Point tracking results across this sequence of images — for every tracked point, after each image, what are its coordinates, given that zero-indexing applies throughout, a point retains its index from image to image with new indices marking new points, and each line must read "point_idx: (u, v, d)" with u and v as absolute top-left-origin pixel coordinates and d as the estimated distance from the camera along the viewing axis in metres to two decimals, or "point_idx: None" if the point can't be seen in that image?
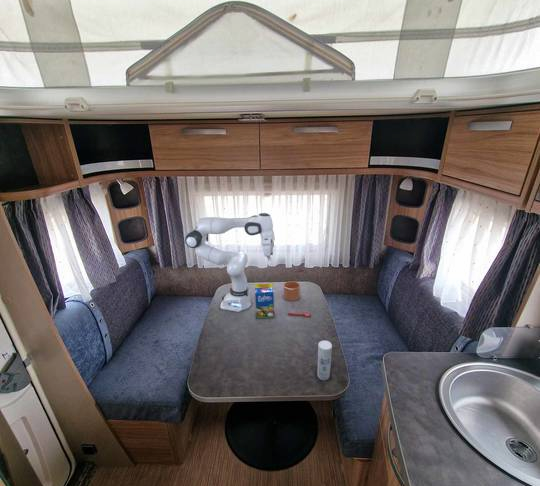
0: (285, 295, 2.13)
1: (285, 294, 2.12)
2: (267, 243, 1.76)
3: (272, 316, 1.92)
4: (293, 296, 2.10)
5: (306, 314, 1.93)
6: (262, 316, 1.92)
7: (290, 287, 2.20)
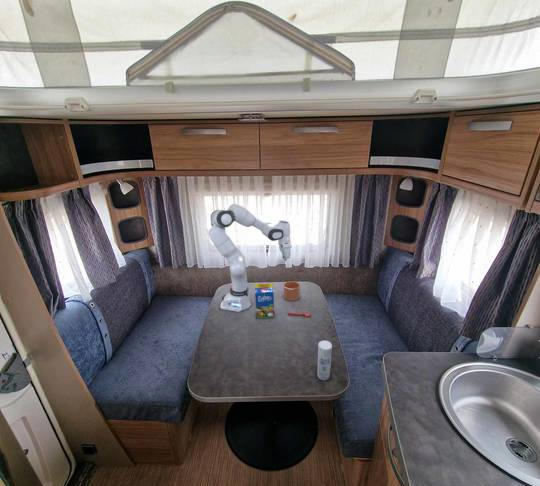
0: (285, 295, 2.13)
1: (285, 294, 2.12)
2: (288, 247, 2.02)
3: (272, 316, 1.92)
4: (293, 296, 2.10)
5: (306, 314, 1.93)
6: (262, 316, 1.92)
7: (290, 287, 2.20)
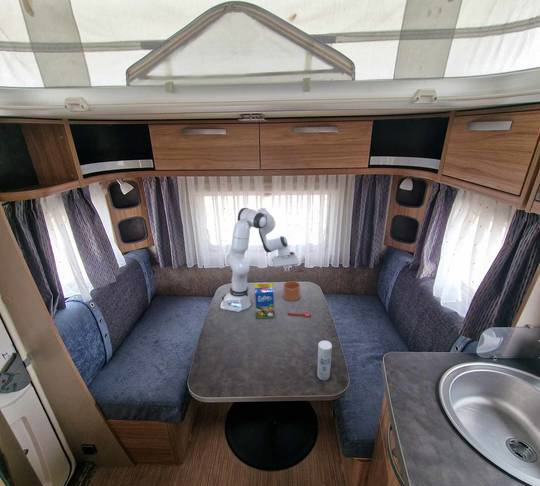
0: (285, 295, 2.13)
1: (285, 294, 2.12)
2: None
3: (272, 316, 1.92)
4: (293, 296, 2.10)
5: (306, 314, 1.93)
6: (262, 316, 1.92)
7: (290, 287, 2.20)
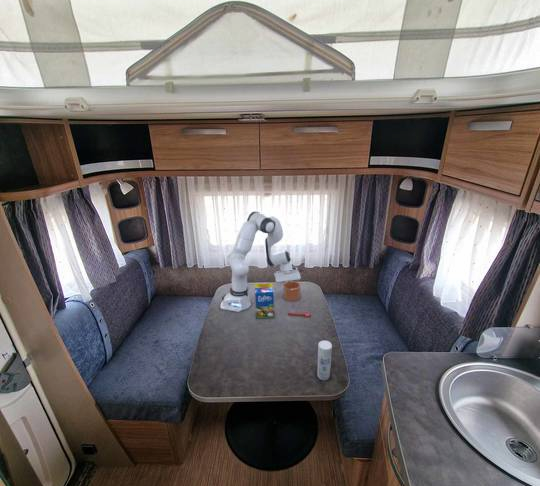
0: (285, 295, 2.13)
1: (285, 294, 2.12)
2: None
3: (272, 316, 1.92)
4: (293, 296, 2.10)
5: (306, 314, 1.93)
6: (262, 316, 1.92)
7: (290, 287, 2.20)
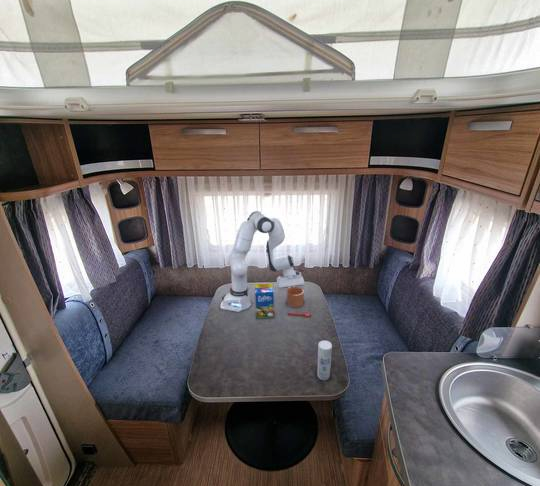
0: (288, 301, 2.05)
1: (288, 300, 2.04)
2: None
3: (272, 316, 1.92)
4: (296, 303, 2.02)
5: (306, 314, 1.93)
6: (262, 316, 1.92)
7: (294, 293, 2.12)
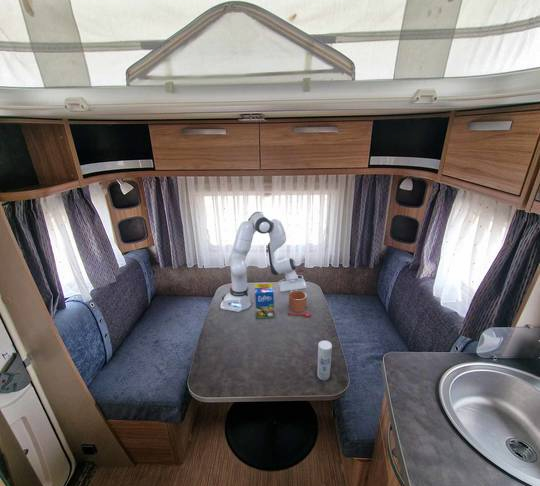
0: (290, 306, 1.99)
1: (290, 305, 1.99)
2: None
3: (272, 316, 1.92)
4: (299, 307, 1.97)
5: (306, 314, 1.93)
6: (262, 316, 1.92)
7: (296, 297, 2.07)
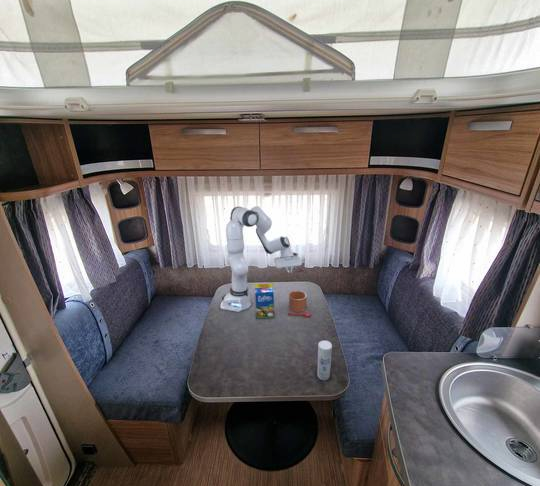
0: (290, 306, 1.99)
1: (290, 305, 1.99)
2: None
3: (272, 316, 1.92)
4: (299, 307, 1.97)
5: (306, 314, 1.93)
6: (262, 316, 1.92)
7: (296, 297, 2.07)
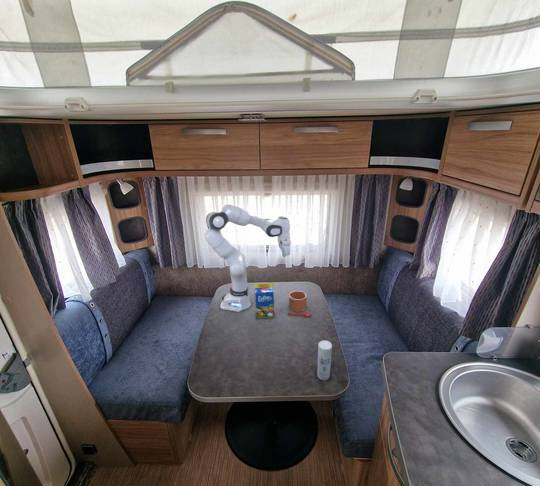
0: (290, 306, 1.99)
1: (290, 305, 1.99)
2: (288, 243, 1.97)
3: (272, 316, 1.92)
4: (299, 307, 1.97)
5: (306, 314, 1.93)
6: (262, 316, 1.92)
7: (296, 297, 2.07)
